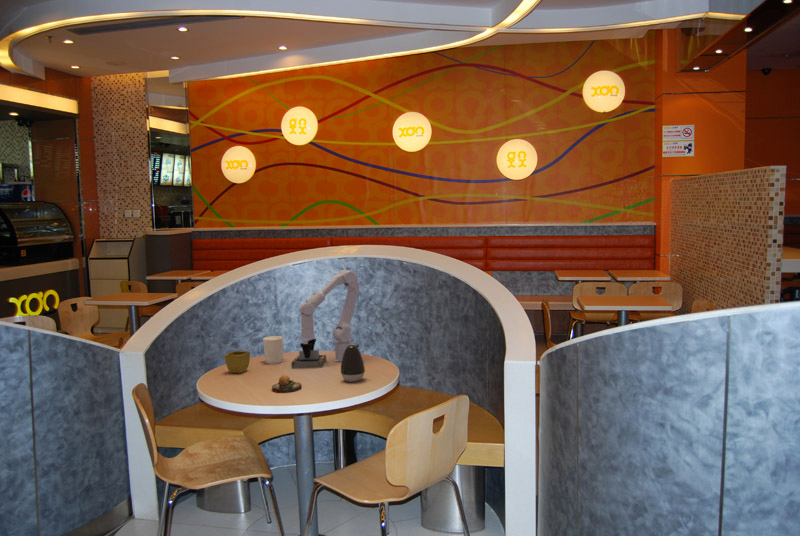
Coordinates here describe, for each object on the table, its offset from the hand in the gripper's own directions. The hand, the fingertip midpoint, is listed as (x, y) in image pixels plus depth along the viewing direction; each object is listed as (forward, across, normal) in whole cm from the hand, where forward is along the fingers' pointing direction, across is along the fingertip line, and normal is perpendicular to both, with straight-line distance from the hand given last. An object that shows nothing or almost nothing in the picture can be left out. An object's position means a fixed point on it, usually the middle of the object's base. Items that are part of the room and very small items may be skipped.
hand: (309, 356), depth 293 cm
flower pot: (+4, +11, -31) cm, 33 cm away
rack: (+4, 0, 0) cm, 4 cm away
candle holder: (+4, -8, -19) cm, 21 cm away
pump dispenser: (+4, +32, +25) cm, 41 cm away
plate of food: (+5, +43, -1) cm, 43 cm away
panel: (+3, 0, 0) cm, 3 cm away
